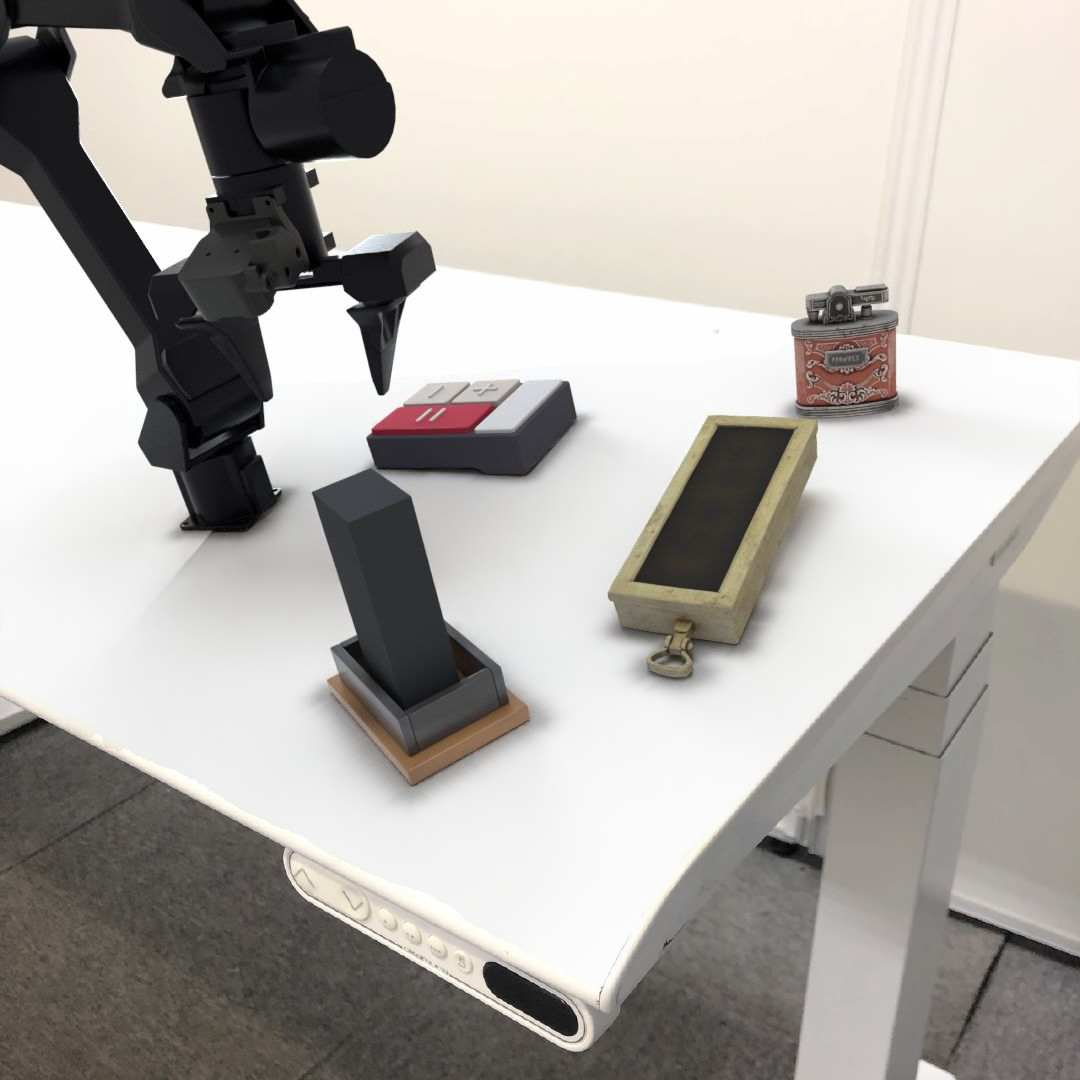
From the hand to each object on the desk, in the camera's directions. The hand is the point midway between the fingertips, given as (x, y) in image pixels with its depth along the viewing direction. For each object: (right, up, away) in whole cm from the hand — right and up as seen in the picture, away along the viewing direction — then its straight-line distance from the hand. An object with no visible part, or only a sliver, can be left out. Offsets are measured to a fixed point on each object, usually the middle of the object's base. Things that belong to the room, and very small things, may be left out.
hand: (324, 396), depth 72 cm
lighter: (+40, +1, +12) cm, 42 cm away
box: (+27, -12, -6) cm, 30 cm away
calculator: (+9, -2, +19) cm, 21 cm away
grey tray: (+8, -19, -13) cm, 25 cm away
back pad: (+8, -19, -13) cm, 24 cm away
